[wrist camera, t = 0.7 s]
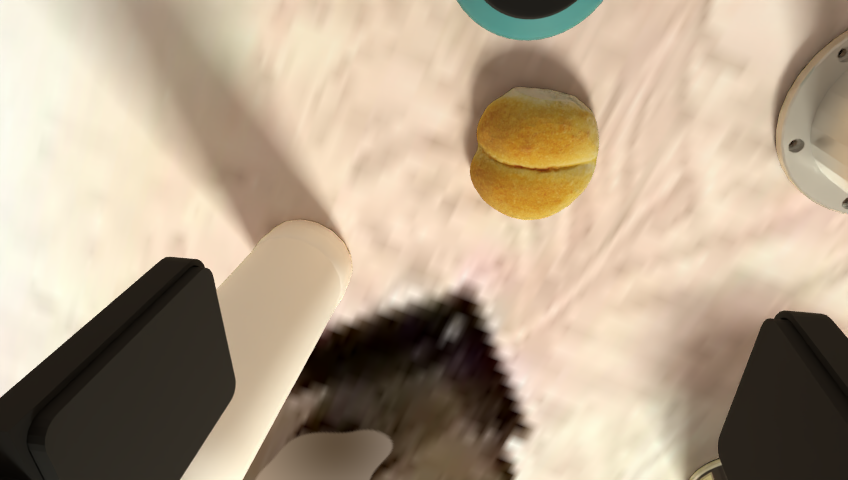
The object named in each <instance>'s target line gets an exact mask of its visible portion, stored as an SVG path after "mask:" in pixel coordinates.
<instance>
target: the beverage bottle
mask: <svg viewBox="0 0 848 480" xmlns="http://www.w3.org/2000/svg"><path fill="white" fill-rule="evenodd" d="M602 1H603V0H457V2H458V3H459V4H460V6H461V7H462V9H463V10H464V11H465V12H466V13H467V14H468V16H469V17H470V18H471V19H473V20H474V21H475V22H476V23H477V24H478V25H480V26H481V27H483V28H485V29H486V30H488V31H490V32H492V33H494V34H496V35H499V36H502V37H505V38H509V39H515V40H538V39H544V38H548V37H552V36H555V35H557V34H560V33H563V32H565V31H567V30H569V29H571V28H573V27H574V26H576V25H577V24H579V23H580V22H582V21H583V20H584V19H585V18H587V17H588V16H589V15H590V14H591V13H592V12H593V11H594V10H595V9H596V8H597V7H598V6H599V5H600V4H601V3H602Z"/></svg>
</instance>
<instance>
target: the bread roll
mask: <svg viewBox="0 0 848 480" xmlns="http://www.w3.org/2000/svg"><path fill="white" fill-rule="evenodd" d="M477 141H478V148H477V151H476V153H475V155H474V157H473V160H472V163H471V166H470V176H471V180H472V182H473V185H474V187H475V189H476V190H477V192H478V193H479V194H480V196H481V197H482V199H483V200H484V201H485V202H486V203H487V204H489V205H490V206H491V207H493V208H494V209H496V210H498V211H499V212H501V213H503V214H505V215H507V216H510V217H513V218H517V219H522V220H535V219H542V218H545V217H548V216H551V215H553V214H555V213H557V212H559V211H561V210H562V209H564V208H565V207H567V206H569V205H570V204H571V203H572V202H573V201H574V200H575V199H576V198H577V197H578V196H579V195H580V194H581V193H582V192H583V191H584V190H585V189H586V187H587V185H588V184H589V182H590V180H591V178H592V175H593V173H594V169H595V166H596V159H597V154H598V147H599V135H598V127H597V123H596V120H595V117H594V115H593V113H592V111H591V110H590V109H589V108H588V107H587V106H585V105H584V104H583V103H582V102H581V101H579V100H578V99H577V98H576V97H575V96H573V95H569V94H565V93H561V92H557V91H554V90H548V89H539V88H528V87H516V88H512V89H511V90H510V91H509V92H507V93H506V94H504V95H503V96H501V97H500V98H498V99H496V100H494V101H493V102H492V103H491V104H490V105H489V106H488V107H487V108H486V110H485V111H484V113H483V115H482V117H481V118H480V121H479V123H478V127H477Z"/></svg>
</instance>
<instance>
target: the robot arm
mask: <svg viewBox="0 0 848 480" xmlns="http://www.w3.org/2000/svg"><path fill="white" fill-rule="evenodd" d="M841 49H843V52H842V54H841V55H839V56H838V53H839V51H840V50H841ZM793 140H794V142H793V143H792V144H791V145H789V144H790V143H791V141H793ZM776 150H777V154H778V157H779V161H780V165H781V167H782V169H783V170H784V172H785V174H786V176H787V177H788V179H789V180H790V181H791V183H792V184H793V185H794V186H795V187H796V188H797V189H798V190H799V191H800V192H801V193H803V194H804V195H805V196H807V197H808V198H809V199H810V200H812V201H813V202H815V203H817V204H819V205H821V206H823V207H825V208H827V209H830V210H833V211H836V212H840V213H843V214H848V30H847V31H846V32H844V33H842V34H841V35H839V36H838V37H836V38H835V39H834V40H833V41H831V42H830V43H829V44H828V45H827V46H826V47H824V48H823V49H822V50H821V51H820V52H819V53H818V54H816V55H815V56H814V58H813V59H812V60H811V61H810V62H809V63H808V65H807V66H806V67H805V68H804V69H803V70H802V72H801V73H800V74H799V75H798V77H797V79H796V80H795V82H794V83H793V85H792V87H791V88H790V90H789V91H788V93H787V96H786V98H785V100H784V103H783V105H782V108H781V110H780V113H779V118H778V123H777V128H776ZM235 388H236V379H235V374H234V370H233V365H232V360H231V356H230V351H229V347H228V342H227V338H226V333H225V328H224V324H223V319H222V315H221V310H220V306H219V301H218V296H217V292H216V287H215V283H214V278H213V275H212V272H211V271H210V269H208V268H205V267H204V264H203V263H202V262H201V261H200V260H198V259H188V258H177V257H165V258H164V259H162V260H161V261H159V262H158V263H157V264H156V265H155V266H154V267H152V268H151V269H150V270H149V271H148V272H147V273H145V274H144V275H143V276H142V277H141V278H140V279H138V280H137V281H136V282H135V283H134V284H133V285H131V286H130V287H129V288H128V289H127V290H126V291H124V292H123V293H122V294H121V295H120V296H119V297H117V298H116V299H115V300H114V301H113V302H112V303H110V304H109V305H108V306H107V307H106V308H105V309H103V310H102V311H101V312H100V313H99V314H98V315H96V316H95V317H94V318H93V319H92V320H91V321H89V322H88V323H87V324H86V325H85V326H84V327H82V328H81V329H80V330H79V331H78V332H77V333H75V334H74V335H73V336H72V337H71V338H69V339H68V340H67V341H66V342H65V343H64V344H62V345H61V346H60V347H59V348H58V349H57V350H55V351H54V352H53V353H52V354H51V355H50V356H48V357H47V358H46V359H45V360H44V361H43V362H41V363H40V364H39V365H38V366H37V367H36V368H34V369H33V370H32V371H31V372H30V373H29V374H27V375H26V376H25V377H24V378H23V379H22V380H20V381H19V382H18V383H17V384H16V385H15V386H13V387H12V388H11V389H10V390H9V391H8V392H6V393H5V394H4V395H3V396H2V397H1V398H0V480H180V479H181V478H182V476H183V475H184V473H185V471H186V470H187V468H188V467H189V465H190V464H191V462H192V461H193V459H194V457H195V456H196V454H197V453H198V451H199V450H200V448H201V447H202V445H203V443H204V442H205V440H206V439H207V437H208V436H209V434H210V433H211V431H212V429H213V428H214V426H215V425H216V423H217V422H218V420H219V419H220V417H221V415H222V414H223V412H224V411H225V409H226V408H227V406H228V405H229V403H230V401H231V400H232V398H233V395H234V392H235ZM718 453H719V458H720V461H721V464H722V466H723V469H724V471H725V474H726V476H727V479H728V480H848V338H847V337H846V336H845V335H844V333H843V332H842V331H841V330H840V329H839V328H838V326H837V325H836V324H835V323H834V322H833V321H832V319H830V318H829V317H828V316H827V315H824V314H818V313H806V312H795V311H781V312H779V313H778V314H777V315H776V316H775V318H774V319H766V320H765V321H764V322H763V324H762V326H761V329H760V331H759V334H758V337H757V339H756V342H755V344H754V347H753V350H752V352H751V355H750V358H749V360H748V363H747V365H746V368H745V371H744V373H743V376H742V379H741V381H740V384H739V386H738V389H737V392H736V394H735V397H734V400H733V402H732V405H731V407H730V410H729V413H728V415H727V418H726V421H725V423H724V426H723V428H722V431H721V434H720V437H719V441H718Z"/></svg>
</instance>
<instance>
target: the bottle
mask: <svg viewBox="0 0 848 480" xmlns="http://www.w3.org/2000/svg"><path fill="white" fill-rule="evenodd" d="M352 271H353V269H352V261H351V256H350V254H349V252H348V250H347V248H346V246H345V244H344V242H343V241H342V240H341V239H340V238H339V237H338V236H337V235H336V234H335V233H334V232H333V231H332V230H330V229H328V228H326V227H324V226H322V225H321V224H319V223H317V222H312V221H307V220H302V219H299V220H292V221H285V222H284V223H282V224H280V225H278V226H276V227H275V228H273V229H272V230H271V231H270V232H269V233H268V234H267V235H265V236H264V237H263V238H262V239H261V240H260V241H259V242H258V244H257V245H256V246H255V248H254V249H253V251H252V252H251V253H250V254H249V255H248V256H247V257H246V258H245V259H244V261H243V262H242V263H241V264H240V265H239V266H238V267H237V268H236V269H235V270H234V271H233V272H232V273H231V275H230V276H229V277H228V278H227V279H226V280H225V281H224V282H223V283H222V284H221V285H220V286H219V287H218V289H217V290H216V292H217V296H218V301H219V306H220V310H221V315H222V319H223V324H224V328H225V333H226V338H227V342H228V347H229V351H230V356H231V360H232V365H233V370H234V374H235V379H236V388H235V392H234V395H233V398H232V400H231V401H230V403H229V405H228V406H227V408H226V409H225V411H224V412H223V414H222V415H221V417H220V419H219V420H218V422H217V423H216V425H215V426H214V428H213V429H212V431H211V433H210V434H209V436H208V437H207V439H206V440H205V442H204V443H203V445H202V447H201V448H200V450H199V451H198V453H197V454H196V456H195V457H194V459H193V461H192V462H191V464H190V465H189V467H188V468H187V470H186V471H185V473H184V475H183V476H182V478H181V479H180V480H242V479H243V478H244V476H245V474H246V472H247V470H248V468H249V467H250V465H251V463H252V461H253V459H254V457H255V456H256V454H257V452H258V450H259V448H260V446H261V444H262V443H263V441H264V439H265V437H266V435H267V433H268V432H269V430H270V428H271V426H272V424H273V422H274V421H275V419H276V417H277V415H278V413H279V411H280V409H281V408H282V406H283V404H284V402H285V400H286V398H287V397H288V395H289V393H290V391H291V389H292V387H293V385H294V384H295V382H296V380H297V378H298V376H299V374H300V373H301V371H302V369H303V367H304V365H305V363H306V362H307V360H308V358H309V356H310V354H311V352H312V350H313V349H314V347H315V345H316V343H317V341H318V339H319V338H320V336H321V334H322V332H323V330H324V328H325V326H326V325H327V323H328V321H329V319H330V317H331V315H332V314H333V312H334V310H335V308H336V306H337V305H338V304H339V303H340V301H341V300H342V298H343V296H344V294H345V291H346V288H347V286H348V284H349V281H350V278H351V275H352Z"/></svg>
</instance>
